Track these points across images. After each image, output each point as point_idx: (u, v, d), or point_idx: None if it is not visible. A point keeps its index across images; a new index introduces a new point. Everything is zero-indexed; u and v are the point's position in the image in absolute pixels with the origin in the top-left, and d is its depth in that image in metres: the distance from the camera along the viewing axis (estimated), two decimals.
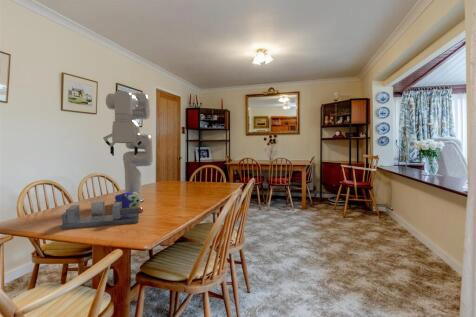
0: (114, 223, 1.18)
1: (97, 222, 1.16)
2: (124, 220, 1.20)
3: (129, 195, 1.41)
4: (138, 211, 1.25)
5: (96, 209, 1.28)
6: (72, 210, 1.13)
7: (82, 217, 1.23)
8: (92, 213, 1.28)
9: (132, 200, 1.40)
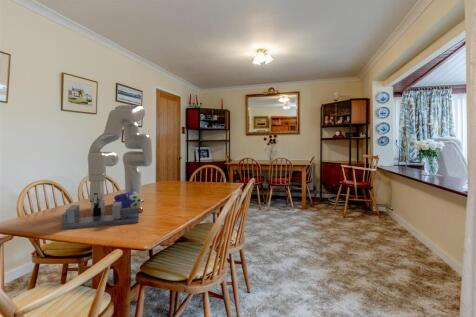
0: (114, 223, 1.18)
1: (97, 222, 1.16)
2: (124, 220, 1.20)
3: (130, 195, 1.42)
4: (138, 211, 1.25)
5: None
6: (72, 210, 1.13)
7: (82, 217, 1.23)
8: (92, 213, 1.28)
9: (133, 199, 1.41)
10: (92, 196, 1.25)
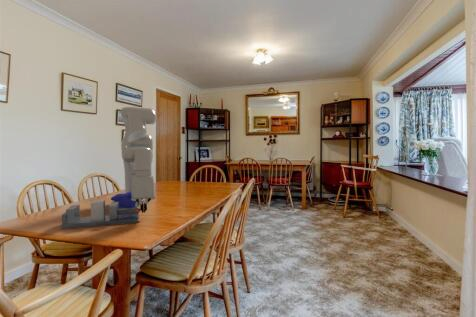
0: (114, 223, 1.18)
1: (97, 222, 1.16)
2: (124, 220, 1.20)
3: None
4: (135, 211, 1.24)
5: (96, 210, 1.18)
6: (72, 210, 1.13)
7: (82, 217, 1.23)
8: (92, 214, 1.18)
9: None
10: (154, 190, 1.26)
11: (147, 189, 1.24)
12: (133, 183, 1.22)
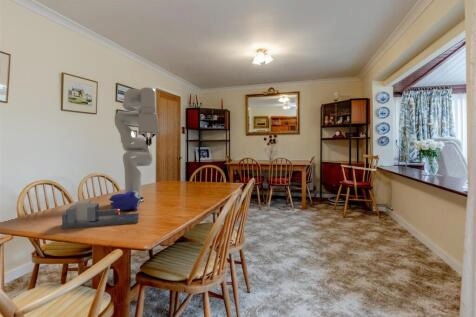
0: (114, 223, 1.18)
1: (97, 222, 1.16)
2: (124, 220, 1.20)
3: (135, 193, 1.46)
4: (115, 213, 1.22)
5: (81, 211, 1.16)
6: (72, 210, 1.13)
7: None
8: (77, 215, 1.16)
9: (139, 197, 1.46)
10: None
11: (152, 124, 1.40)
12: (139, 118, 1.39)
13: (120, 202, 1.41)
